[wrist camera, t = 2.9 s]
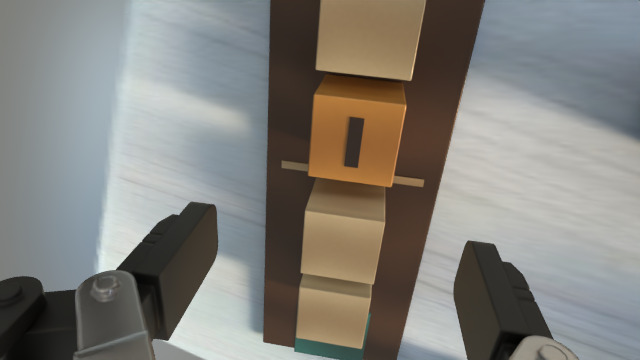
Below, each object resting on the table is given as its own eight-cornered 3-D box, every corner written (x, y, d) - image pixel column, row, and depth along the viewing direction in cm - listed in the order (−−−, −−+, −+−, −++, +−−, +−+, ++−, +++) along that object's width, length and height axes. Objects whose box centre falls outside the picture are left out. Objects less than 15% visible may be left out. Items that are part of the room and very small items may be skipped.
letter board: (279, -212, 18) (243, -275, 14) (530, -199, 17) (583, -263, 13) (265, 337, 34) (247, 393, 30) (394, 360, 34) (395, 421, 29)
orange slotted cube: (325, 73, 23) (312, 94, 19) (403, 82, 22) (407, 105, 19) (319, 145, 25) (307, 177, 21) (390, 154, 25) (391, 188, 21)
